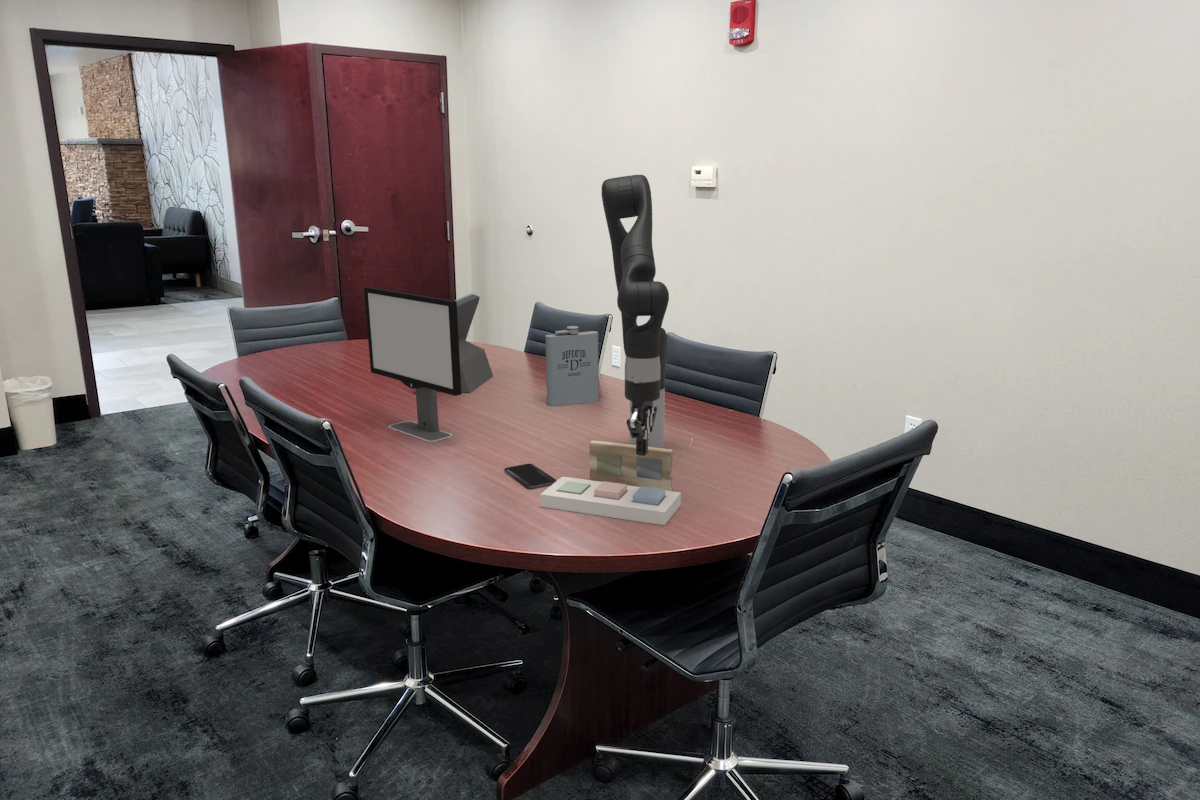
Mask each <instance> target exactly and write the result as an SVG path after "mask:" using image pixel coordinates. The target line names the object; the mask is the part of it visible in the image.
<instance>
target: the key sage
mask: <svg viewBox="0 0 1200 800" xmlns="http://www.w3.org/2000/svg"><path fill="white" fill-rule="evenodd" d="M589 487H590V484H584V483H577V482H570V481H567V482H566V483H565V484H563V485H562V486H561V487H560V488H559V489H557V491H558V492H565V493H572V494H579V495H581V494H582V493H583V492H585V491H586V490H587V489H588V488H589Z"/></svg>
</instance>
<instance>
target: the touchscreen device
mask: <svg viewBox="0 0 1200 800" xmlns="http://www.w3.org/2000/svg"><path fill="white" fill-rule="evenodd" d="M454 301H456V302H457V319H458V338H459V356H460V375H461V393H467V394H469V393H470V394H471V393H473V392H474V391H476V390H477V389H478V388H479V387H481V386H483V385H484V384H485V383H487V382H488V381H489V380H490V379H491V378H493V377H494V373H493V372H492V368H491V366H490V362H489V359H488V356H487V353H486V350H485V348H482V347H481V346H478V345H476V344H474V343H471V342H469V341H467V338H468V335H469V331H470V328H471V325H472V323H473V319H474V316H475V314H476V312H477V308H478V305H479V303H480V296H479V295H476V294H474V293H472V292H471V293H469V294H466V295H464V296H462V297H459V298H457V299H455V300H454ZM414 390H415V392H416V389H414Z"/></svg>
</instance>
